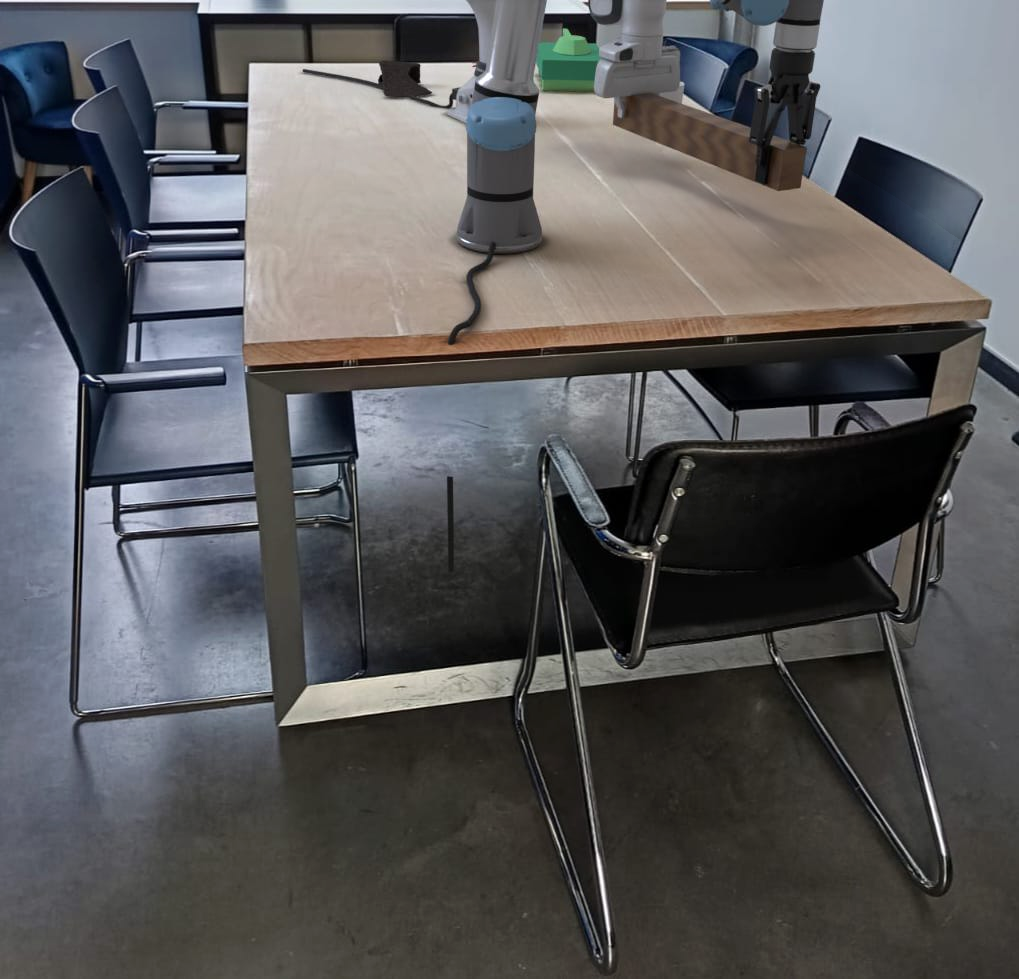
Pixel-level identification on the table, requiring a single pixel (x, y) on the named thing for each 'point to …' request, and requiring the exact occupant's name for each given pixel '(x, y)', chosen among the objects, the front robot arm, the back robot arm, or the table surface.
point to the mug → (675, 94)
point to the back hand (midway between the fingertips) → (635, 115)
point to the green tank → (568, 63)
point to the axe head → (401, 79)
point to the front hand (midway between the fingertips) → (773, 180)
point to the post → (710, 139)
